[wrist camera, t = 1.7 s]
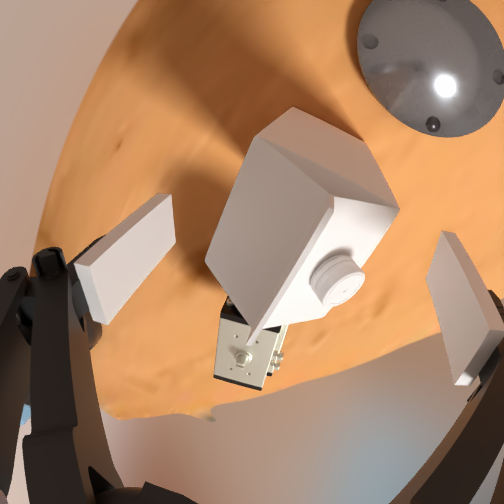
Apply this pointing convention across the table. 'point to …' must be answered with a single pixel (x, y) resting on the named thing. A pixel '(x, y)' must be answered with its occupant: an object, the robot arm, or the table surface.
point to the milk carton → (299, 222)
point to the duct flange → (432, 64)
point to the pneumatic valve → (246, 350)
